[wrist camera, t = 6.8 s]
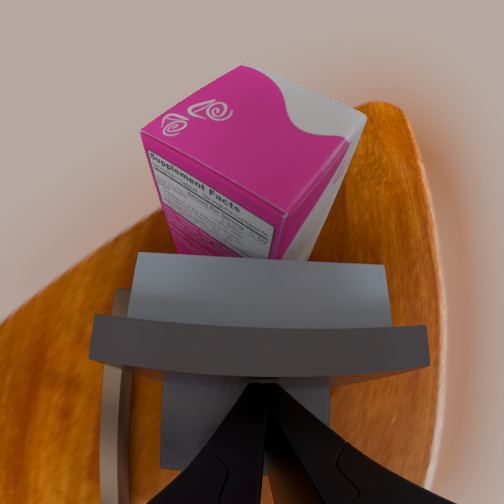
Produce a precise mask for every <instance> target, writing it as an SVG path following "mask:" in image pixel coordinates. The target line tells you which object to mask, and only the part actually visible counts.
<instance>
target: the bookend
mask: <svg viewBox="0 0 504 504" xmlns="http://www.w3.org/2000/svg"><path fill="white" fill-rule="evenodd" d="M89 359H91V360H94V361H97V362H100V363H103V364H106V365H109V366H112V367H115V368H118V369H121V370H124V371H127V372H130V373H134V374H137V375H140V376H144V377H147V378H151V379H154V380H158V381H162V382H164V383H163V399H162V418H161V446H160V468H166V469H173V470H180V471H183V470H184V469H185V468H186V467H187V466H188V465H189V464H190V463H191V462H192V460H193V459H194V458H195V457H196V456H197V454H198V453H199V452H200V450H201V449H202V448H203V446H205V444H206V443H207V441H208V440H209V439H210V437H211V436H212V435H213V433H214V432H215V430H216V429H217V428H218V426H219V425H220V423H221V422H222V421H223V419H224V418H225V416H226V415H227V413H228V412H229V411H230V409H231V408H232V406H233V405H234V403H235V402H236V400H237V399H238V398H239V396H240V395H241V393H242V392H243V390H244V389H245V387H246V386H247V384H248V383H249V382H260V383H262V384H263V383H277V384H279V385H280V386H281V387H282V388H283V389H284V390H285V391H287V392H288V393H289V394H290V395H291V396H292V397H293V398H295V399H296V400H297V401H298V402H299V403H300V404H301V405H303V406H304V407H305V408H306V409H307V410H309V411H310V412H311V413H312V414H313V415H314V416H316V417H317V418H318V419H319V420H320V421H322V422H323V423H324V424H325V425H326V426H328V427H329V428H330V387H335V386H341V385H347V384H353V383H358V382H364V381H369V380H374V379H379V378H383V377H388V376H392V375H397V374H401V373H405V372H409V371H413V370H417V369H421V368H425V367H428V366H430V357H429V346H428V337H427V328H426V325H420V326H402V327H380V328H340V329H299V328H258V327H235V326H217V325H202V324H188V323H176V322H165V321H154V320H145V319H135V318H127V317H118V316H110V315H102V314H95V317H94V323H93V329H92V336H91V343H90V350H89ZM263 475H268V473H267V468H266V463H265V459H264V464H263Z"/></svg>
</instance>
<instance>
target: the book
mask: <svg viewBox="0 0 504 504" xmlns="http://www.w3.org/2000/svg"><path fill="white" fill-rule="evenodd" d="M127 318H135V319H145V320H154V321H165V322H176V323H188V324H202V325H217V326H235V327H258V328H299V329H340V328H380V327H392V319H391V310H390V302H389V294H388V287H387V280H386V273H385V267H384V265H375V264H354V263H333V262H313V261H293V260H274V259H255V258H237V257H218V256H200V255H183V254H165V253H148V252H138V257H137V262H136V267H135V272H134V278H133V283H132V289H131V295H130V301H129V307H128V314H127Z"/></svg>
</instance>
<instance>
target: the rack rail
mask: <svg viewBox="0 0 504 504" xmlns="http://www.w3.org/2000/svg"><path fill="white" fill-rule="evenodd" d="M130 295H131V289H123V288H116V291H115V297H114V302H113V308H112V314H111V316H118V317H127V314H128V307H129V301H130ZM132 380H133V373H130V372H127V371H124V370H121V369H118V368H115V367H112V366H109V365H106V364H105V366H104V376H103V388H102V401H101V419H100V492H101V504H130V498H129V431H130V409H131V393H132Z"/></svg>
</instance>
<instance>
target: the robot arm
mask: <svg viewBox="0 0 504 504" xmlns="http://www.w3.org/2000/svg"><path fill="white" fill-rule="evenodd" d="M264 459H265V463H266V468H267V473H268V477H269V482H270V487H271V491H272V496H273V500H274V504H456V503H454V502H452V501H449V500H447V499H445V498H443V497H441V496H438V495H437V494H434V493H432V492H430V491H428V490H426V489H424V488H422V487H420V486H418V485H416V484H414V483H412V482H410V481H409V480H407V479H405V478H403V477H401V476H399V475H397V474H395V473H394V472H392V471H390V470H388V469H386V468H385V467H383V466H381V465H380V464H378V463H377V462H375V461H373V460H372V459H370V458H369V457H367V456H366V455H364V454H363V453H362V452H360V451H359V450H357V449H356V448H355V447H354V446H352V445H351V444H350V443H348V442H346V441H345V440H344V439H343V438H341V437H340V436H339V435H338V434H336V433H335V432H334V431H333V430H331V429H330V428H329V427H328V426H326V425H325V424H324V423H323V422H322V421H320V420H319V419H318V418H317V417H316V416H314V415H313V414H312V413H311V412H310V411H309V410H307V409H306V408H305V407H304V406H303V405H301V404H300V403H299V402H298V401H297V400H296V399H295V398H293V397H292V396H291V395H290V394H289V393H288V392H287V391H285V390H284V389H283V388H282V387H281V386H280V385H279V384H277V383H263V384H262V383H260V382H249V383H248V384H247V386H246V387H245V389H244V390H243V392H242V393H241V395H240V396H239V398H238V399H237V400H236V402H235V403H234V405H233V406H232V408H231V409H230V411H229V412H228V413H227V415H226V416H225V418H224V419H223V421H222V422H221V423H220V425H219V426H218V428H217V429H216V430H215V432H214V433H213V435H212V436H211V437H210V439H209V440H208V441H207V443H206V444H205V446H203V448H202V449H201V450H200V452H199V453H198V454H197V456H196V457H195V458H194V459H193V460H192V462H191V463H190V464H189V465H188V466H187V467H186V468H185V469H184V470H183V471H182V472H181V473H180V474H179V475H178V476H177V477H176V478H175V479H174V480H173V481H172V482H171V483H170V484H168V485H167V486H166V487H165V488H164V489H163V490H162V491H161V492H159V493H158V494H157V495H156V496H155V497H154V498H152V499H151V500H150V501H149V502H148V503H146V504H260V499H261V488H262V476H263V464H264Z"/></svg>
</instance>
